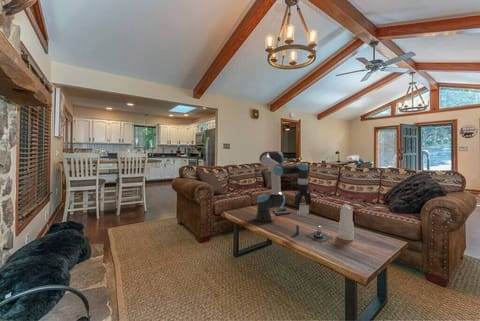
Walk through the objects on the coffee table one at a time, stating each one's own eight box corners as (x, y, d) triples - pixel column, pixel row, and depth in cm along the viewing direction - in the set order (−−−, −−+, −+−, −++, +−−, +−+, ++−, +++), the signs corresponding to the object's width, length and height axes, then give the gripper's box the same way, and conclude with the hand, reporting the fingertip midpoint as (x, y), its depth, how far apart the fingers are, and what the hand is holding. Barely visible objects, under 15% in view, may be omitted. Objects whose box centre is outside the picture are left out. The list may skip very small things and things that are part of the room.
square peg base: (305, 236, 165) (305, 225, 165) (317, 232, 172) (317, 221, 172) (320, 243, 153) (320, 231, 153) (333, 239, 160) (333, 227, 160)
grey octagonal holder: (295, 211, 167) (295, 204, 167) (302, 210, 171) (302, 202, 171) (302, 214, 160) (302, 206, 160) (310, 212, 164) (310, 205, 164)
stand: (291, 234, 169) (292, 224, 169) (297, 233, 172) (297, 223, 172) (297, 237, 164) (297, 227, 164) (303, 235, 167) (303, 225, 167)
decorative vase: (353, 241, 156) (354, 207, 155) (337, 238, 162) (337, 205, 160) (354, 236, 165) (355, 204, 164) (339, 233, 171) (339, 202, 169)
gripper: (296, 185, 156) (296, 216, 157) (316, 183, 166) (316, 212, 167) (289, 184, 163) (289, 214, 164) (309, 182, 173) (309, 210, 174)
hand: (302, 213), depth 165 cm, fingers closed on grey octagonal holder, 8 cm apart
